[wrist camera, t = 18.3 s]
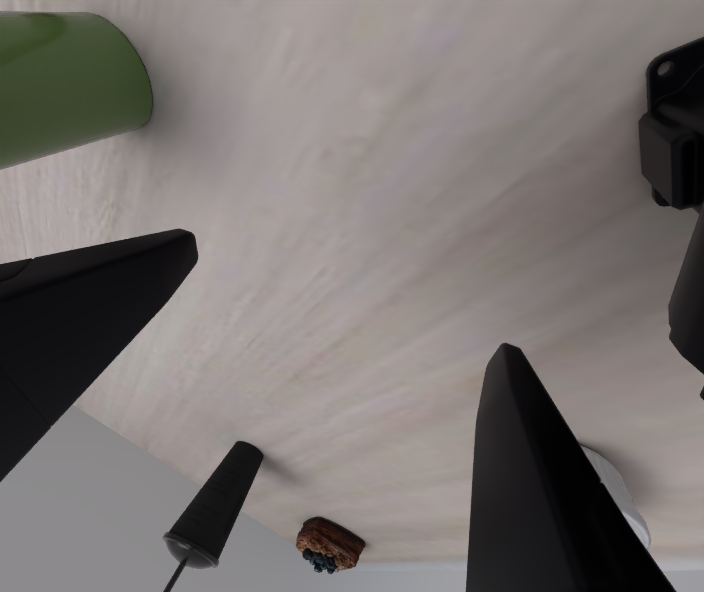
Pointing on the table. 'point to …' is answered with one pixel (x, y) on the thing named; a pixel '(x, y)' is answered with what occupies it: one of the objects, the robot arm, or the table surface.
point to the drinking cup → (213, 511)
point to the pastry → (328, 545)
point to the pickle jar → (66, 84)
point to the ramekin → (619, 494)
